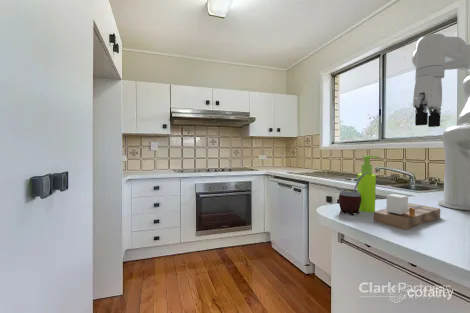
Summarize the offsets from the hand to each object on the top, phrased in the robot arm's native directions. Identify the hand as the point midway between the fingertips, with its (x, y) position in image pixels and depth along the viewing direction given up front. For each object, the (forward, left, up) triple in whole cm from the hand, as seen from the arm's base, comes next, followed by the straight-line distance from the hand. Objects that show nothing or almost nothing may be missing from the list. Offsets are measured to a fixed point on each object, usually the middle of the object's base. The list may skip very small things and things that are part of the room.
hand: (427, 125), depth 80 cm
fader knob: (+18, -1, -27) cm, 32 cm away
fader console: (+11, 0, -30) cm, 32 cm away
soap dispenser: (+11, -13, -31) cm, 35 cm away
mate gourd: (+20, -14, -31) cm, 39 cm away
